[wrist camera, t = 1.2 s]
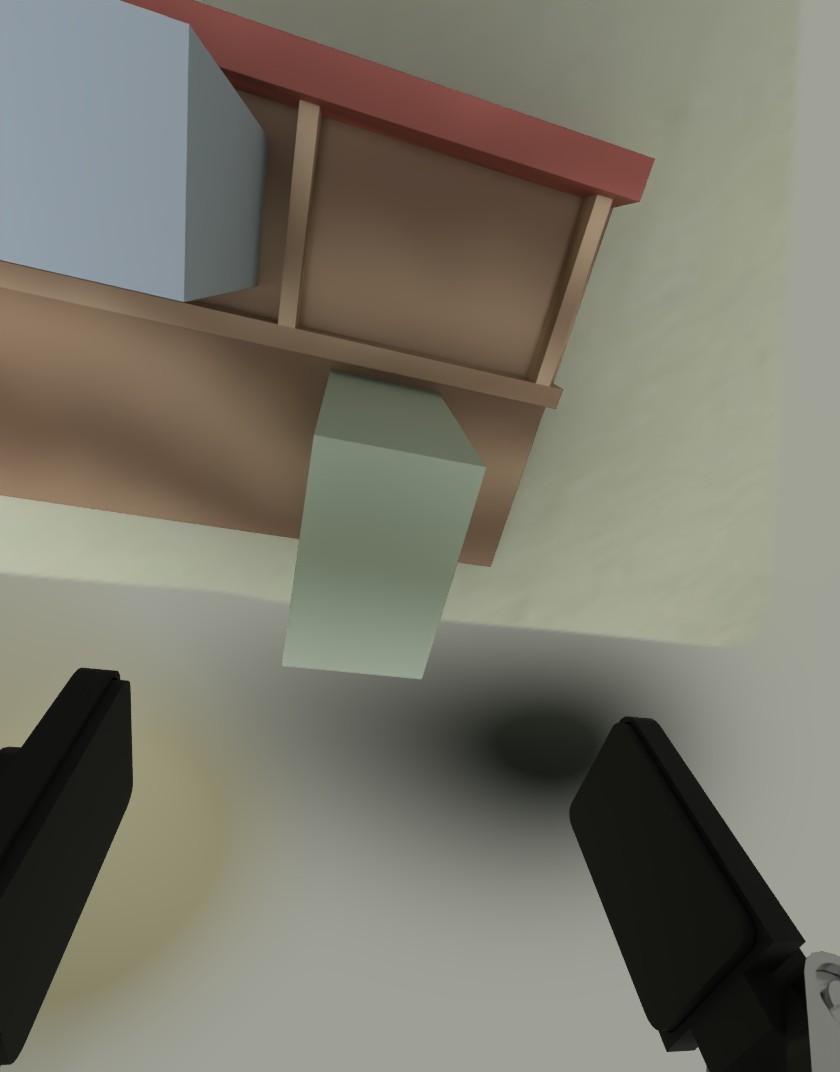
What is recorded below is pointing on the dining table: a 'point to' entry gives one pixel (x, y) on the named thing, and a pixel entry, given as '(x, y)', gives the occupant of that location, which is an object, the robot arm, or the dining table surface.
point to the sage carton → (379, 528)
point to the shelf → (319, 298)
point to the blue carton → (125, 152)
